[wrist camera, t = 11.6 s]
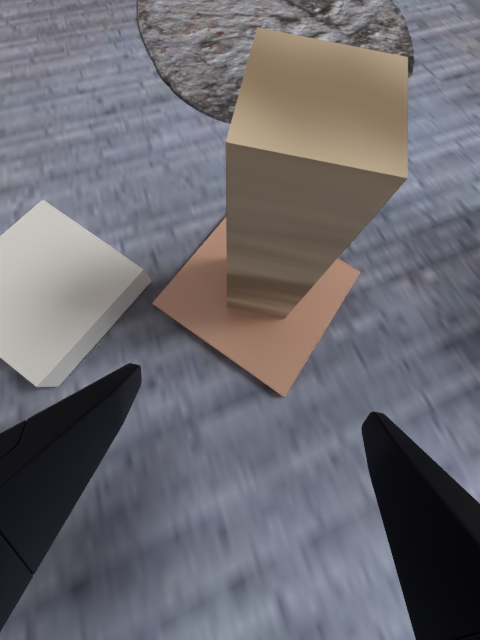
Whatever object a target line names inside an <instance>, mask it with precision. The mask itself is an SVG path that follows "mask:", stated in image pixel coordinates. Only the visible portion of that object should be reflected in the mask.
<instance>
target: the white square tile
mask: <svg viewBox="0 0 480 640" xmlns="http://www.w3.org/2000/svg"><path fill="white" fill-rule="evenodd" d="M151 282H152V280H151V279H150V278H149V276H148V275H147V273H146V272H145V271H144V269H142V268H141V267H139V266H138V265H136V264H135V263H134V262H132V261H131V260H129V259H128V258H126V257H125V256H124V255H122V254H121V253H119V252H118V251H116V250H115V249H113V248H112V247H111V246H109V245H108V244H106V243H105V242H103V241H102V240H100V239H99V238H98V237H96V236H95V235H93V234H92V233H90V232H89V231H88V230H86V229H85V228H83V227H82V226H80V225H79V224H77V223H76V222H75V221H73V220H72V219H70V218H69V217H67V216H66V215H64V214H63V213H62V212H60V211H59V210H57V209H56V208H54V207H53V206H52V205H50V204H49V203H47V202H46V201H44V200H42V201H41V202H39V203H38V204H37V205H36V206H35V207H34V208H33V209H31V210H30V211H29V212H28V213H27V214H26V215H24V216H23V217H22V218H21V219H20V220H19V221H17V222H16V223H15V224H14V225H13V226H12V227H10V228H9V229H8V230H7V231H6V232H5V233H3V234H2V235H1V236H0V358H2V359H3V360H4V361H5V362H6V363H8V364H9V365H10V366H11V367H13V368H14V369H15V370H16V371H17V372H19V373H20V374H21V375H22V376H24V377H25V378H26V379H27V380H29V381H30V382H31V383H32V384H33V385H35V386H36V387H59V386H60V384H61V383H62V382H63V381H64V380H65V379H66V378H67V377H68V375H69V374H70V373H71V372H72V371H73V370H74V369H75V368H76V366H77V365H78V364H79V363H80V362H81V361H82V360H83V358H84V357H85V356H86V355H87V354H88V353H89V352H90V351H91V349H92V348H93V347H94V346H95V345H96V344H97V343H98V341H99V340H100V339H101V338H102V337H103V336H104V335H105V334H106V332H107V331H108V330H109V329H110V328H111V327H112V326H113V325H114V323H115V322H116V321H117V320H118V319H119V318H120V317H121V315H122V314H123V313H124V312H125V311H126V310H127V309H128V308H129V306H130V305H131V304H132V303H133V302H134V301H135V300H136V299H137V297H138V296H139V295H140V294H141V293H142V292H143V291H144V289H145V288H146V287H147V286H148V285H149V284H150V283H151Z"/></svg>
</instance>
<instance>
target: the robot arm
mask: <svg viewBox="0 0 480 640" xmlns="http://www.w3.org/2000/svg"><path fill="white" fill-rule="evenodd" d="M140 386H141V367H140V365H137V364H132V363H129V364H127V365H125V366H123V367H121V368H119V369H118V370H116V371H114V372H112V373H110V374H108V375H107V376H105V377H103V378H101V379H99V380H98V381H96V382H94V383H92V384H90V385H88V386H87V387H85V388H83V389H81V390H79V391H77V392H76V393H74V394H72V395H70V396H68V397H66V398H65V399H63V400H61V401H59V402H57V403H56V404H54V405H52V406H50V407H48V408H46V409H45V410H43V411H41V412H39V413H37V414H35V415H34V416H32V417H30V418H28V419H27V421H26V420H25V421H22V422H21V423H19V424H17V425H15V426H13V427H12V428H10V429H8V430H6V431H4V432H2V433H0V631H1V630H2V628H3V626H4V625H5V623H6V621H7V620H8V618H9V616H10V615H11V613H12V611H13V609H14V608H15V606H16V604H17V603H18V601H19V599H20V598H21V596H22V594H23V593H24V591H25V589H26V587H27V586H28V584H29V582H30V581H31V579H32V577H33V574H34V573H35V572H36V570H37V569H38V567H39V565H40V563H41V562H42V560H43V558H44V557H45V555H46V553H47V552H48V550H49V548H50V547H51V545H52V543H53V542H54V540H55V538H56V536H57V535H58V533H59V531H60V530H61V528H62V526H63V525H64V523H65V521H66V520H67V518H68V516H69V515H70V513H71V511H72V509H73V508H74V506H75V504H76V503H77V501H78V499H79V498H80V496H81V494H82V493H83V491H84V489H85V487H86V486H87V484H88V482H89V481H90V479H91V477H92V476H93V474H94V472H95V471H96V469H97V467H98V466H99V464H100V462H101V460H102V459H103V457H104V455H105V454H106V452H107V450H108V449H109V447H110V445H111V444H112V442H113V440H114V438H115V437H116V435H117V433H118V432H119V430H120V428H121V426H122V425H123V423H124V421H125V419H126V417H127V414H128V412H129V410H130V408H131V406H132V403H133V401H134V399H135V397H136V395H137V392H138V390H139V388H140ZM362 436H363V441H364V447H365V453H366V458H367V464H368V469H369V473H370V477H371V481H372V485H373V488H374V492H375V495H376V499H377V503H378V506H379V510H380V513H381V517H382V520H383V524H384V528H385V531H386V535H387V538H388V542H389V545H390V549H391V553H392V556H393V560H394V563H395V567H396V570H397V574H398V578H399V581H400V585H401V588H402V592H403V595H404V599H405V603H406V606H407V610H408V613H409V617H410V620H411V624H412V628H413V631H414V635H415V638H416V640H480V504H479V503H478V502H477V501H476V500H475V499H474V498H473V497H472V496H471V495H470V494H469V493H468V492H467V491H466V490H465V489H463V488H462V487H461V486H460V485H459V484H458V483H457V482H456V481H455V480H454V479H453V478H452V477H451V476H450V475H449V474H448V473H446V472H445V471H444V470H443V469H442V468H441V467H440V466H439V465H438V464H437V463H436V462H435V461H434V460H433V459H432V458H430V457H429V456H428V455H427V454H426V453H425V452H424V451H423V450H422V449H421V448H420V447H419V446H418V445H417V444H416V443H414V442H413V441H412V440H411V439H410V438H409V437H408V436H407V435H406V434H405V433H404V432H403V431H402V430H401V429H400V428H399V427H397V426H396V425H395V424H394V423H393V422H392V421H391V420H390V419H389V418H388V417H387V416H386V415H385V414H383V413H379V412H371V413H370V414H369V415H368V417H367V418H366V420H365V421H364V423H363V425H362Z"/></svg>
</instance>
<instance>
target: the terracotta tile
mask: <svg viewBox="0 0 480 640" xmlns="http://www.w3.org/2000/svg"><path fill="white" fill-rule="evenodd" d="M359 274H360V271H358V270H356V269H355V268H353V267H352V266H350V265H348V264H347V263H345V262H343V261H342V260H340V259H339V258H337V260H336V261H335V262H334V263H333V264H332V265H331V266H330V268H329V269H328V270H327V271H326V272H325V273H324V274H323V276H322V277H321V278H320V279H319V280H318V281H317V282H316V284H315V285H314V286H313V287H312V288H311V289H310V290H309V292H308V293H307V294H306V295H305V296H304V297H303V298H302V300H301V301H300V302H299V303H298V304H297V305H296V306H295V308H294V309H293V310H292V311H291V312H290V313H289V314H288V316H287V317H286V318H285V319H281V318H276V317H270V316H265V315H260V314H255V313H250V312H245V311H240V310H235V309H230V308H227V254H226V218H225V219H224V220H223V221H222V222H221V223H220V224H219V226H218V227H217V228H216V229H215V230H214V231H213V233H212V234H211V235H210V236H209V237H208V238H207V240H206V241H205V242H204V243H203V244H202V245H201V247H200V248H199V249H198V250H197V251H196V252H195V254H194V255H193V256H192V257H191V258H190V259H189V261H188V262H187V263H186V264H185V265H184V266H183V268H182V269H181V270H180V271H179V272H178V273H177V275H176V276H175V277H174V278H173V279H172V280H171V282H170V283H169V284H168V285H167V286H166V287H165V289H164V290H163V291H162V292H161V293H160V294H159V296H158V297H157V298H156V299H155V300H154V301H153V303H152V304H153V305H154V306H156V307H157V308H158V309H160V310H161V311H163V312H164V313H165V314H167V315H168V316H170V317H171V318H172V319H174V320H175V321H177V322H178V323H179V324H181V325H182V326H184V327H185V328H187V329H188V330H189V331H191V332H192V333H194V334H195V335H196V336H198V337H199V338H201V339H202V340H203V341H205V342H206V343H208V344H209V345H210V346H212V347H213V348H215V349H216V350H217V351H219V352H220V353H222V354H223V355H224V356H226V357H227V358H229V359H230V360H232V361H233V362H234V363H236V364H237V365H239V366H240V367H241V368H243V369H244V370H246V371H247V372H248V373H250V374H251V375H253V376H254V377H255V378H257V379H258V380H260V381H261V382H262V383H264V384H265V385H267V386H268V387H269V388H271V389H272V390H274V391H275V392H277V393H278V394H279V395H281V396H282V397H285V396H286V394H287V393H288V391H289V389H290V388H291V386H292V384H293V383H294V381H295V379H296V378H297V376H298V374H299V373H300V371H301V370H302V368H303V366H304V365H305V363H306V361H307V360H308V358H309V356H310V355H311V353H312V351H313V350H314V348H315V346H316V345H317V343H318V342H319V340H320V338H321V337H322V335H323V333H324V332H325V330H326V328H327V327H328V325H329V323H330V322H331V320H332V318H333V317H334V315H335V314H336V312H337V310H338V309H339V307H340V305H341V304H342V302H343V300H344V299H345V297H346V295H347V294H348V292H349V290H350V289H351V287H352V286H353V284H354V282H355V281H356V279H357V277H358V276H359Z"/></svg>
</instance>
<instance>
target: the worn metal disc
mask: <svg viewBox="0 0 480 640" xmlns="http://www.w3.org/2000/svg"><path fill="white" fill-rule="evenodd" d="M137 13H138V15H137V21H138V26H139V30H140V34H141V37H142V40H143V42H144V44H145V47H146V49H147V52H148V54H149V56H150V58H151V59H152V60H153V62H154V64H155V67H156V69H157V71H158V73H159V75H160V77H161V78H162V80H163V81H164V82H165V83H166V84H167V85H168V86H169V87H170V88H171V90H172V91H173V92H174V93H175V94H176V95H177V96H178V97H179V98H180V99H181V100H183V101H184V102H186V103H187V104H188V105H190V106H191V107H193V108H195V109H196V110H198V111H199V112H201V113H203V114H205V115H207V116H209V117H211V118H214V119H216V120H219V121H222V122H225V123H230V124H231V121H232V117H233V114H234V110H235V106H236V103H237V99H238V95H239V92H240V88H241V84H242V81H243V77H244V73H245V70H246V66H247V62H248V59H249V55H250V51H251V48H252V44H253V40H254V37H255V33H256V29H257V27H259V28H264V29H269V30H274V31H279V32H284V33H289V34H294V35H299V36H304V37H309V38H314V39H319V40H324V41H329V42H334V43H339V44H344V45H349V46H354V47H359V48H365V49H370V50H375V51H380V52H385V53H390V54H395V55H400V56H405V57H408V79H409V78H410V77H411V76H412V72H413V66H414V57H413V54H414V51H413V45H412V40H411V37H410V34H409V31H408V28H407V25H406V22H405V19H404V17H403V16H402V14H401V11H400V9H399V8H398V7H397V6H395V5H394V3H393V1H392V0H138V2H137Z"/></svg>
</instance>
